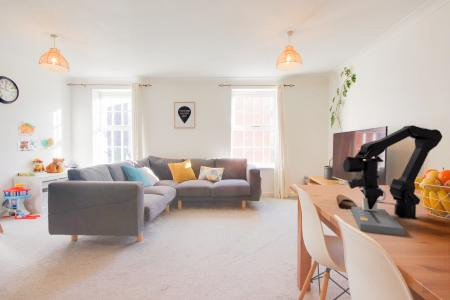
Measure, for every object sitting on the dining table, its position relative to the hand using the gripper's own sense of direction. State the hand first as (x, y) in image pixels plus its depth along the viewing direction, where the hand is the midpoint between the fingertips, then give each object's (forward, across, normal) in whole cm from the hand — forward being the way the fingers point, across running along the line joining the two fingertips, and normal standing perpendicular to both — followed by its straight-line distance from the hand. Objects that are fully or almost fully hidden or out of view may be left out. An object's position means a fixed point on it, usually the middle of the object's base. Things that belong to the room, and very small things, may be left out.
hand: (369, 208), depth 102 cm
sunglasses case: (+4, -18, -7) cm, 20 cm away
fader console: (+4, +8, 0) cm, 9 cm away
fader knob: (+1, 0, 0) cm, 1 cm away
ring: (+4, -30, +9) cm, 32 cm away
